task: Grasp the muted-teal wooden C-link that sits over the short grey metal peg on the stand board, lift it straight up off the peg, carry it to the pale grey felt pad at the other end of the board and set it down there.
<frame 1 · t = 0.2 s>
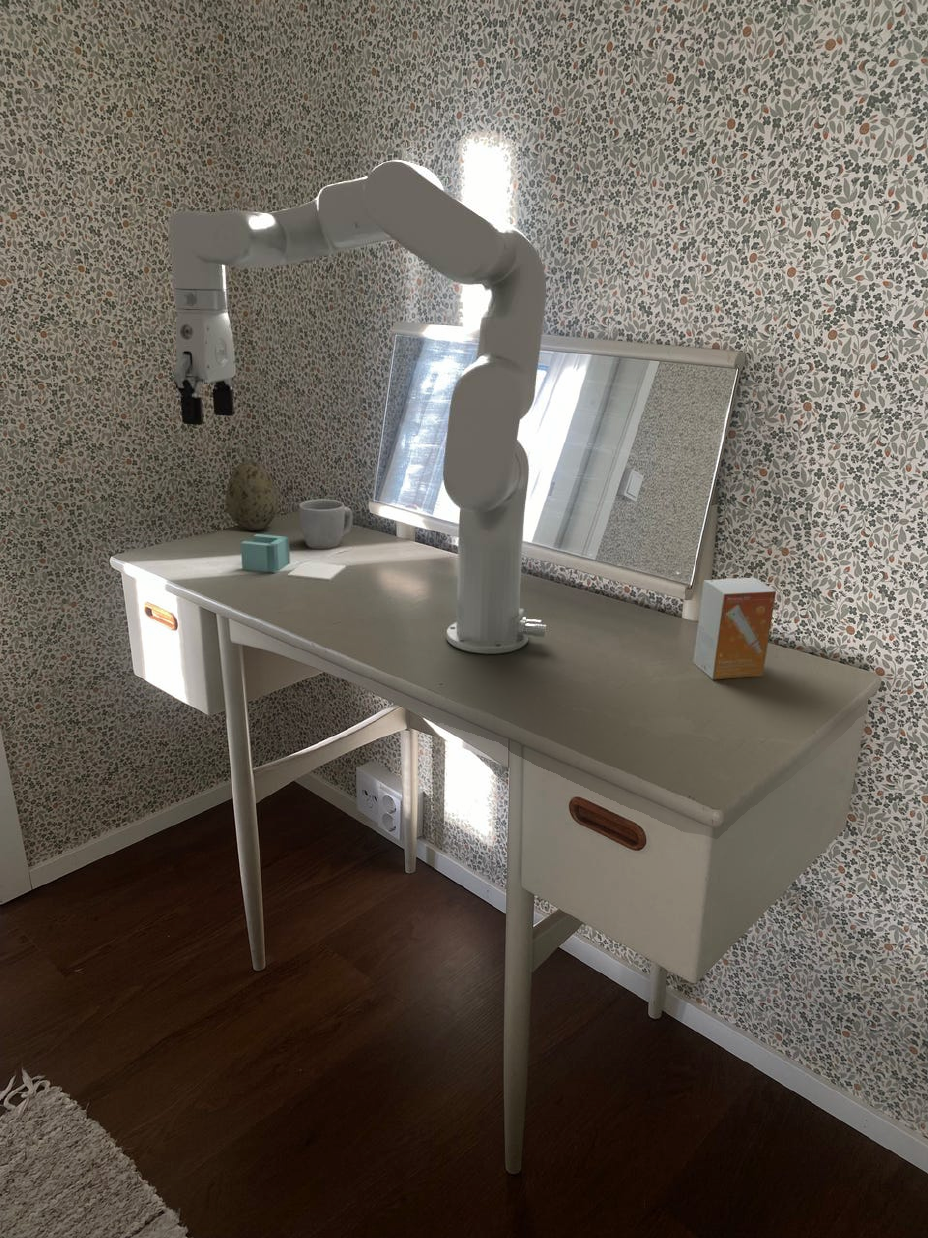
hand: (208, 419, 143), 31 cm above the table, fingers open, 9 cm apart
small box: (727, 671, 134), on the table
c link: (266, 566, 170), point 1 cm above the table, touching stand
stand: (292, 576, 170), on the table
mug: (329, 551, 186), on the table
decorative egg: (253, 530, 199), on the table
pad: (317, 573, 168), resting on stand
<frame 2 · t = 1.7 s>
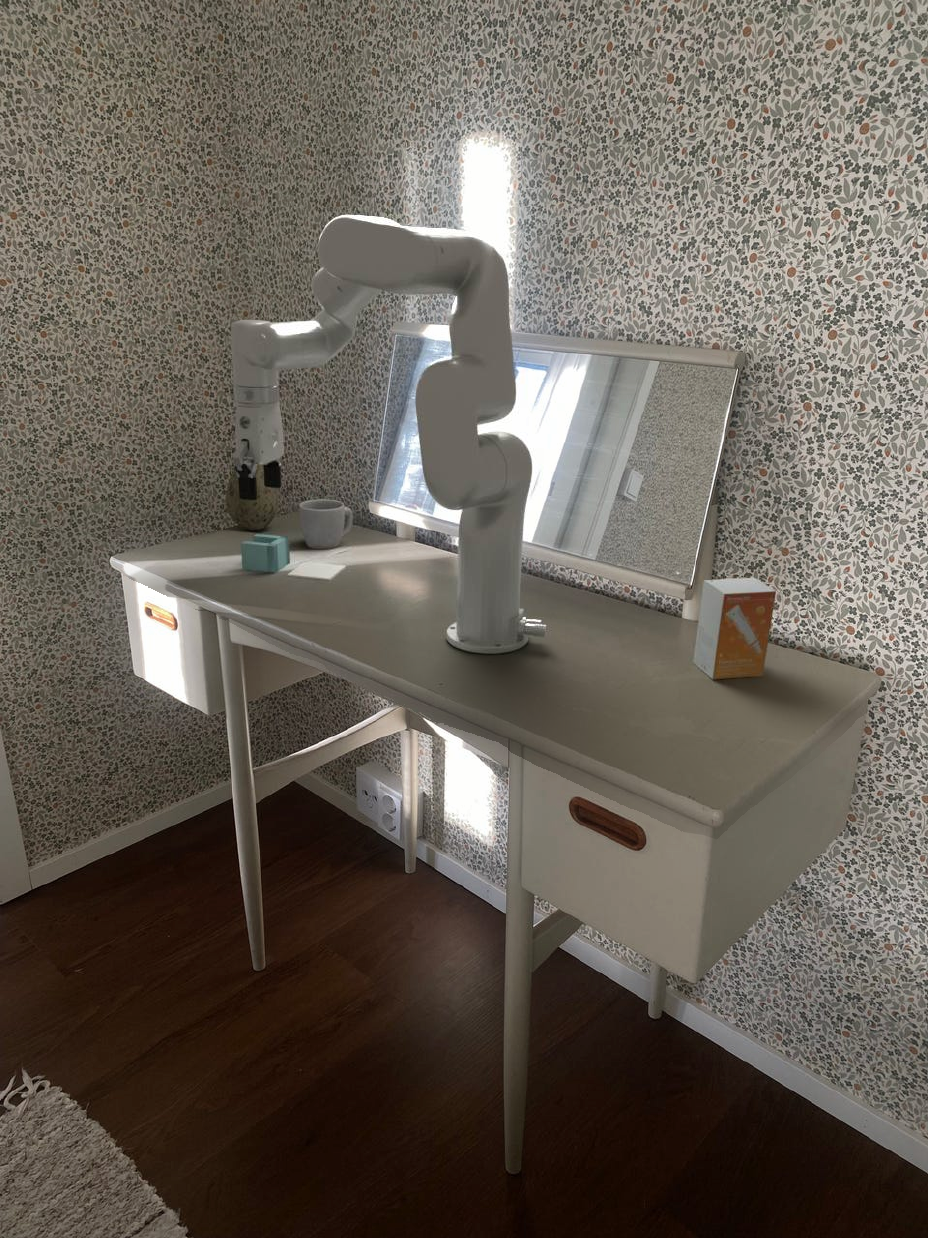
hand: (261, 493, 166), 15 cm above the table, fingers open, 9 cm apart
nothing on the table moved.
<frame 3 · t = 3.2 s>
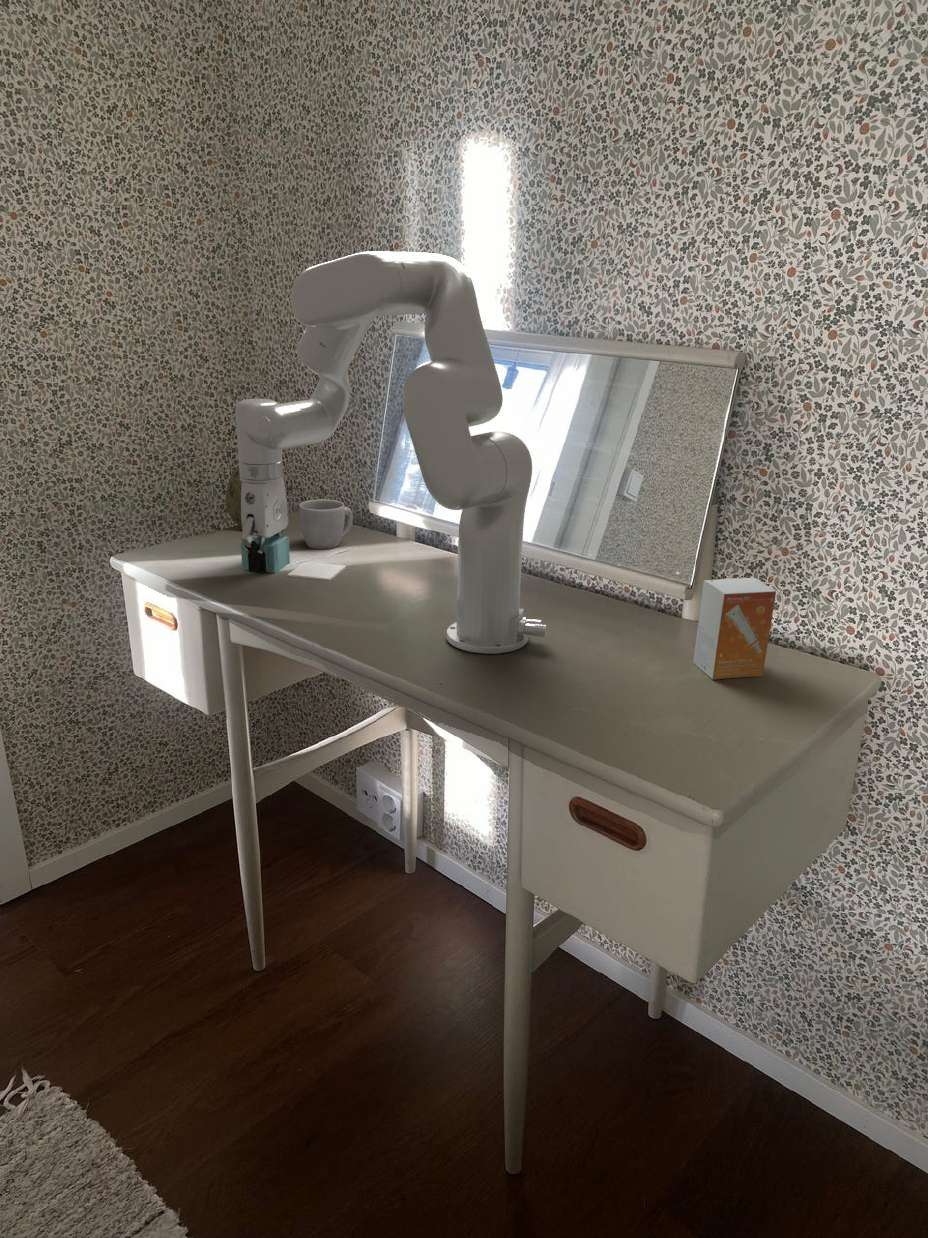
hand: (266, 566, 170), 1 cm above the table, fingers closed on c link, stand, 6 cm apart
c link: (266, 566, 170), point 2 cm above the table, touching gripper
everything else where it was.
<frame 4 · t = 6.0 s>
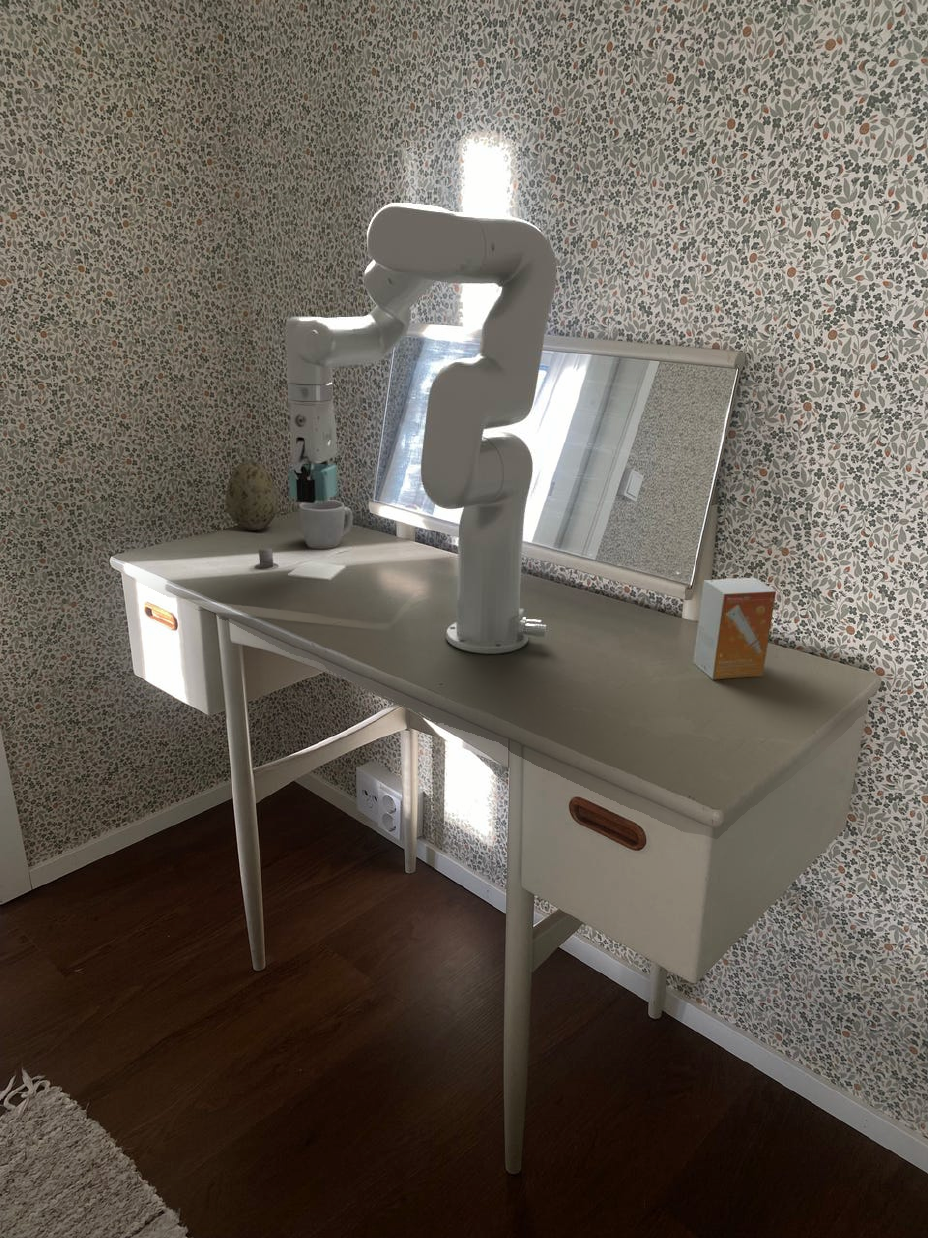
hand: (314, 496, 163), 15 cm above the table, fingers closed on c link, 6 cm apart
c link: (314, 495, 163), point 15 cm above the table, touching gripper
everything else where it was.
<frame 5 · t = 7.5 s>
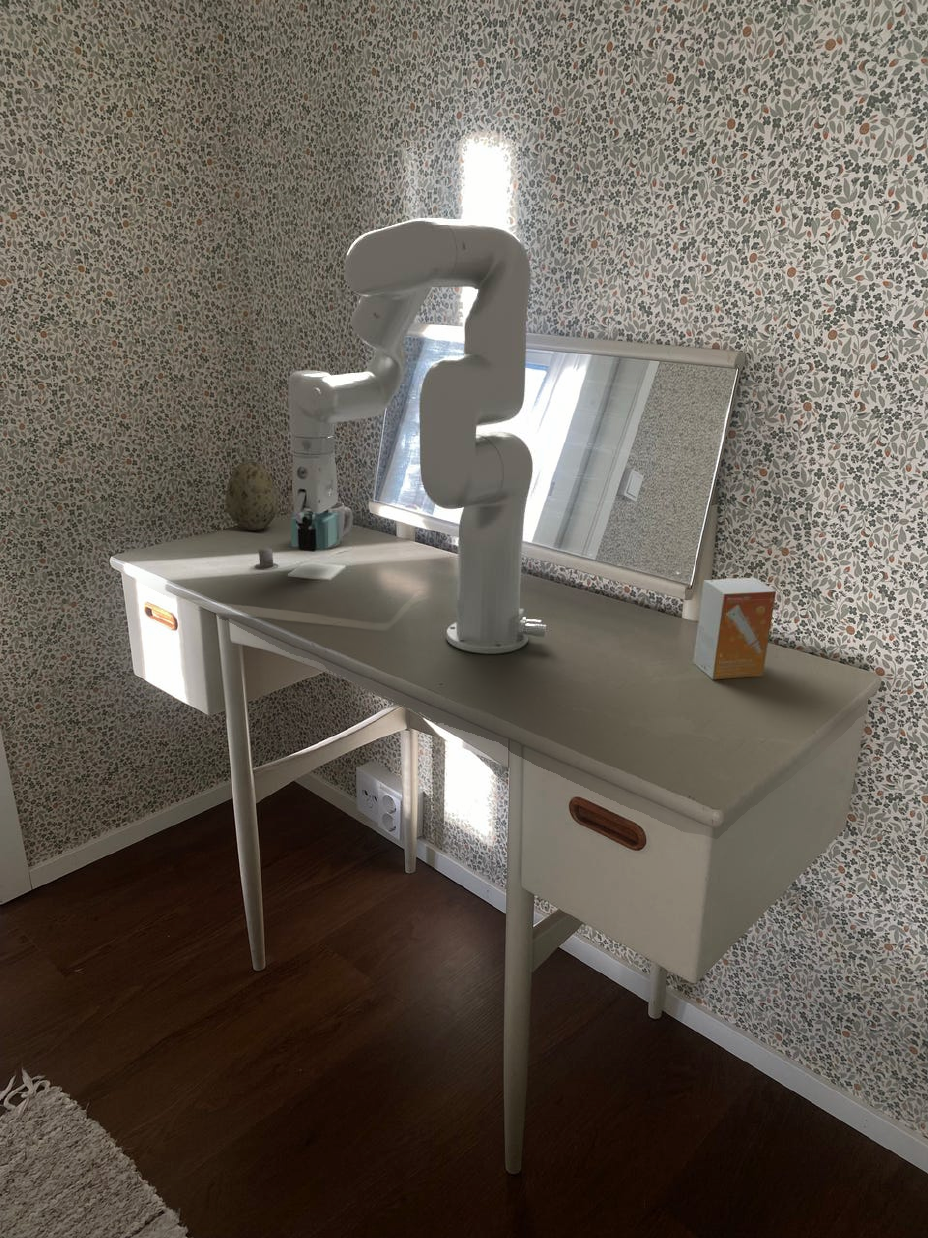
hand: (315, 544, 166), 7 cm above the table, fingers closed on c link, 6 cm apart
c link: (315, 543, 166), point 7 cm above the table, touching gripper
everything else where it was.
when the fingers open (3 cm above the table, at t = 8.7 s): c link drops 1 cm, resting on pad.
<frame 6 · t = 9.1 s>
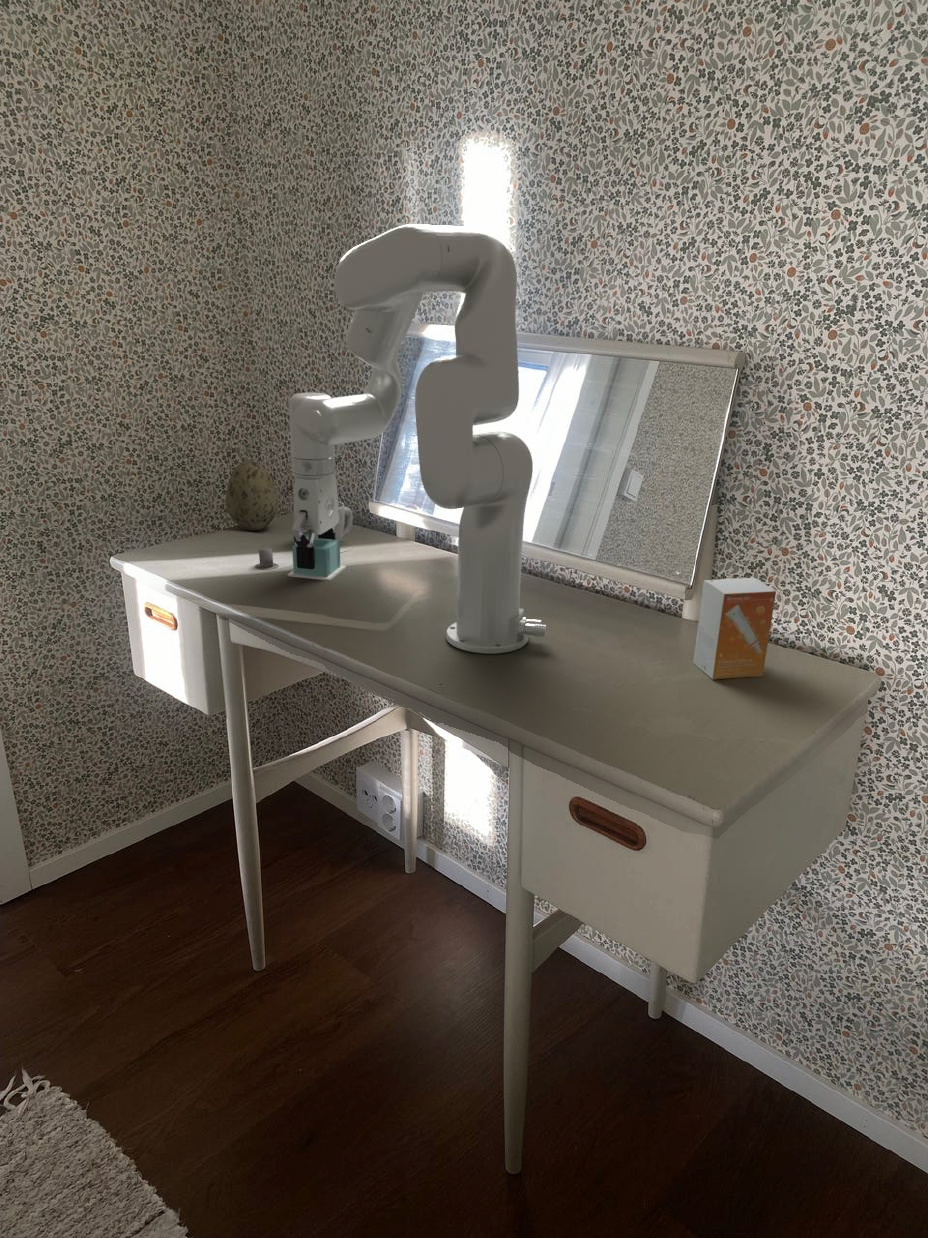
hand: (316, 560, 167), 4 cm above the table, fingers open, 9 cm apart
c link: (317, 569, 168), point 2 cm above the table, touching pad
everything else where it was.
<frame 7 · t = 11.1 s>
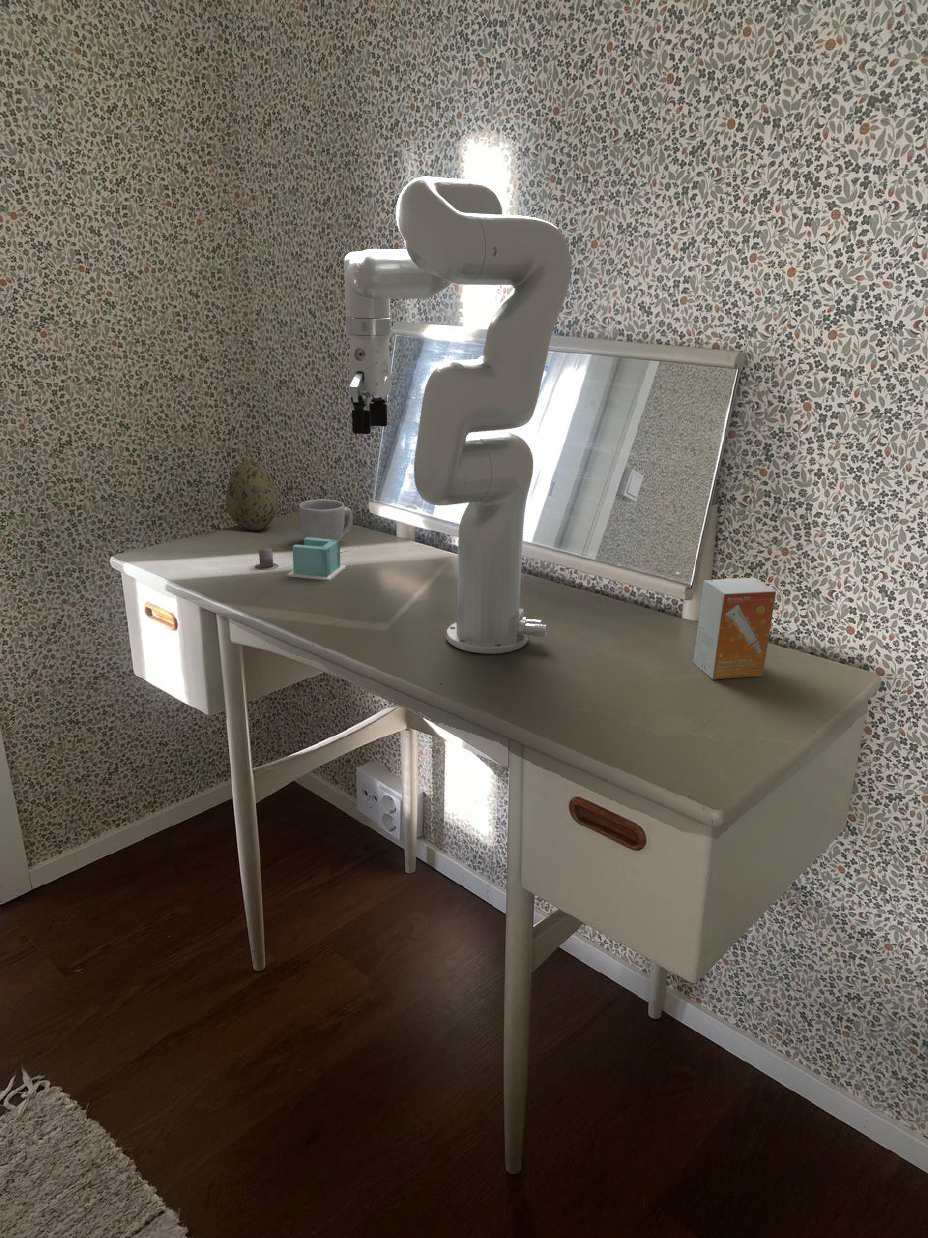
hand: (370, 429, 165), 26 cm above the table, fingers open, 9 cm apart
nothing on the table moved.
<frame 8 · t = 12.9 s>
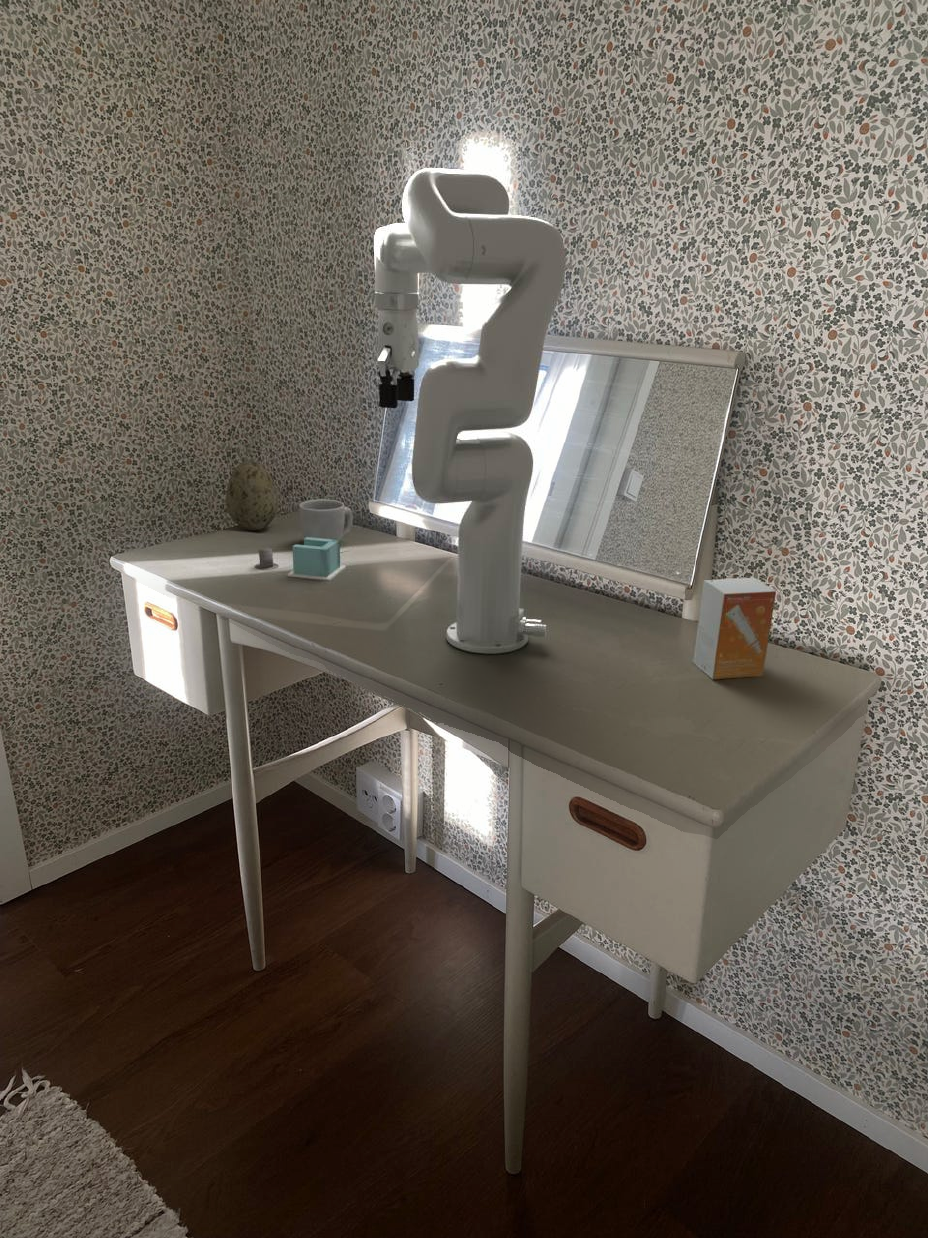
hand: (397, 403, 167), 30 cm above the table, fingers open, 9 cm apart
nothing on the table moved.
at the end: c link inside the target area on the pad (0.0 cm from its centre), point 0.6 cm above the pad's base; c link tilted 0°; the gripper is holding nothing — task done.
